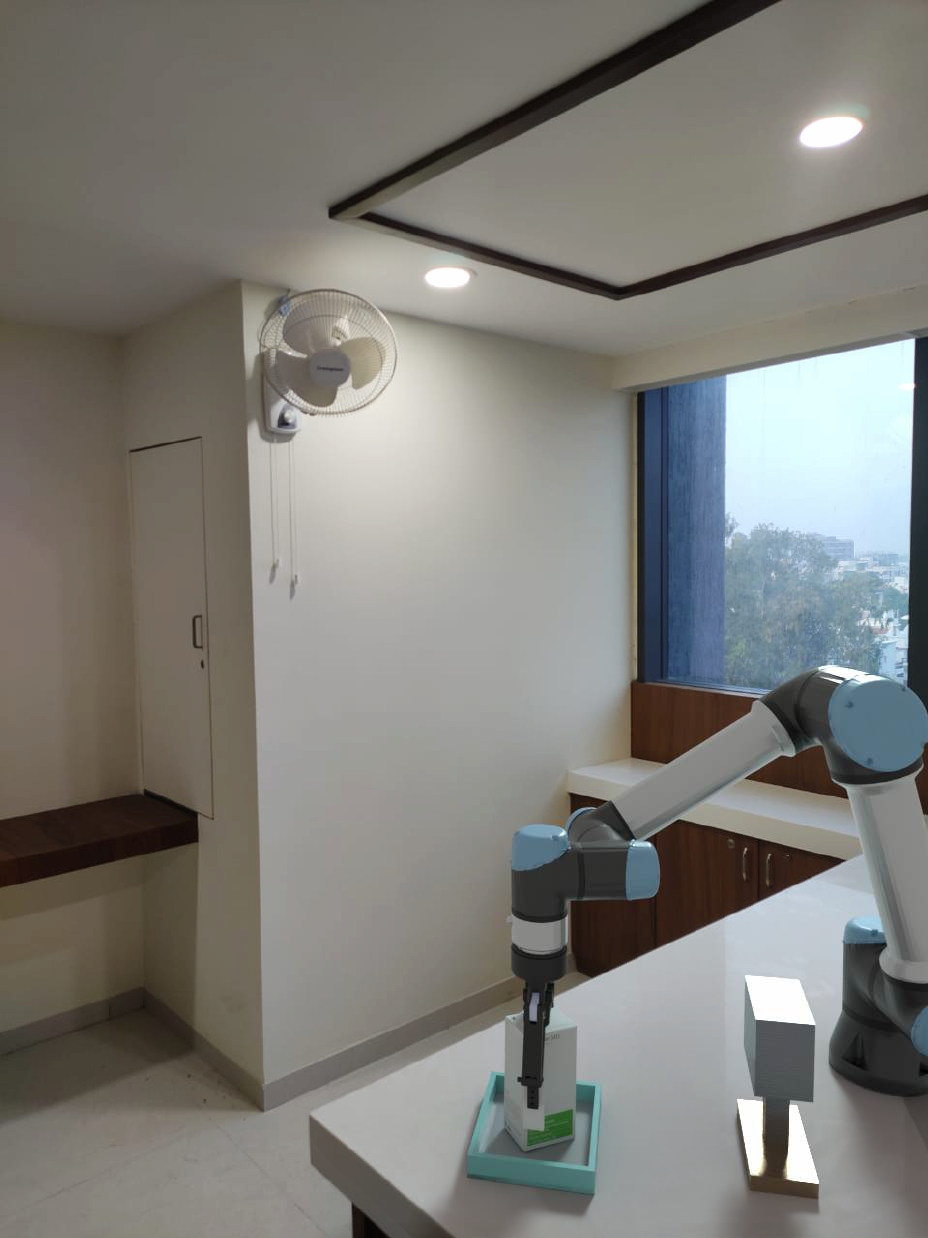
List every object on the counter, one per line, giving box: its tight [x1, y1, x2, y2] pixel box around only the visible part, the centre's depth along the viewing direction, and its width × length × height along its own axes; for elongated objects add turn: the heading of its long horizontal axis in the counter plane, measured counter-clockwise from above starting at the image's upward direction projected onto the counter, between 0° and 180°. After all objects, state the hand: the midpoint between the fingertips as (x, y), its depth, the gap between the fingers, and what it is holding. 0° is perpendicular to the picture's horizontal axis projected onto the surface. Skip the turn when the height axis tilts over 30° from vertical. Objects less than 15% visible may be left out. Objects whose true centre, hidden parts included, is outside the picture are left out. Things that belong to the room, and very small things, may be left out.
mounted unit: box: [736, 975, 820, 1200], centre depth 118 cm, size 8×16×21 cm, turn 169°
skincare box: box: [504, 1006, 578, 1152], centre depth 122 cm, size 8×7×16 cm
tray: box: [466, 1071, 602, 1195], centre depth 122 cm, size 16×19×3 cm
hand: (538, 1102), depth 121 cm, fingers open, 11 cm apart
